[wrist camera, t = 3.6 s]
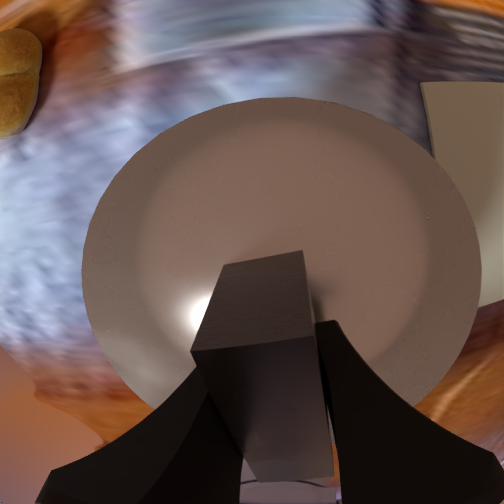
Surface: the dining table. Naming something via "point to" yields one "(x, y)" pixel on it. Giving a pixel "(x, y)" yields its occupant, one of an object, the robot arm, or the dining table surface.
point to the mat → (473, 163)
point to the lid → (280, 268)
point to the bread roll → (18, 79)
